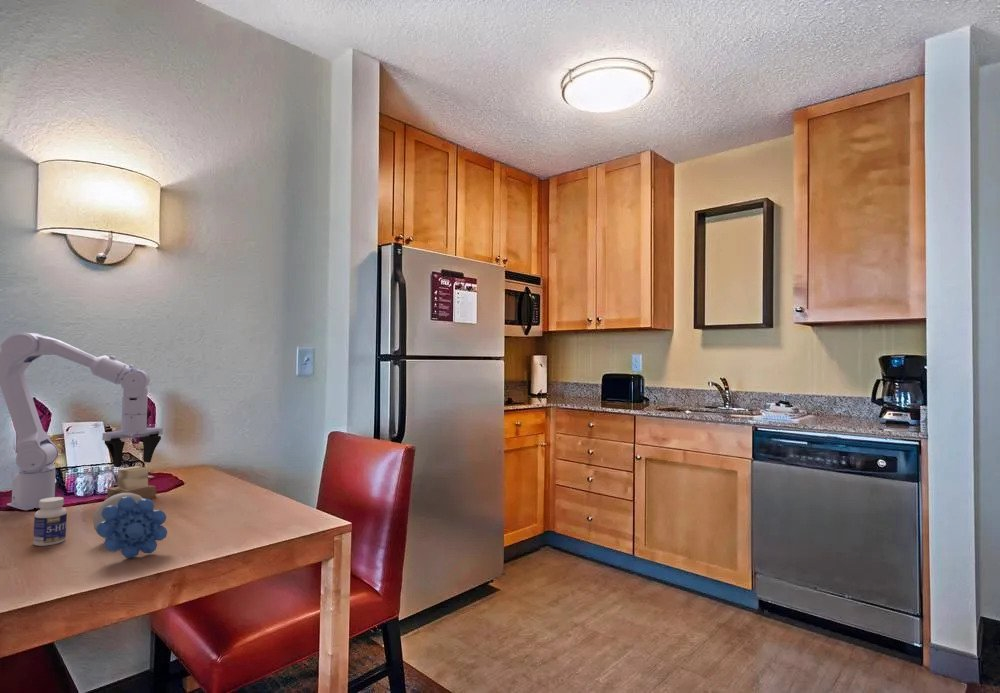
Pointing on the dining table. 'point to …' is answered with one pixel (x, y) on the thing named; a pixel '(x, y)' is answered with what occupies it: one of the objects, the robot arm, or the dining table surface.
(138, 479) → the cube
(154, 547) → the blue flower rosette
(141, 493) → the base
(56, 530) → the pill bottle
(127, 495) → the donut
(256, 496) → the dining table surface
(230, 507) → the dining table surface
